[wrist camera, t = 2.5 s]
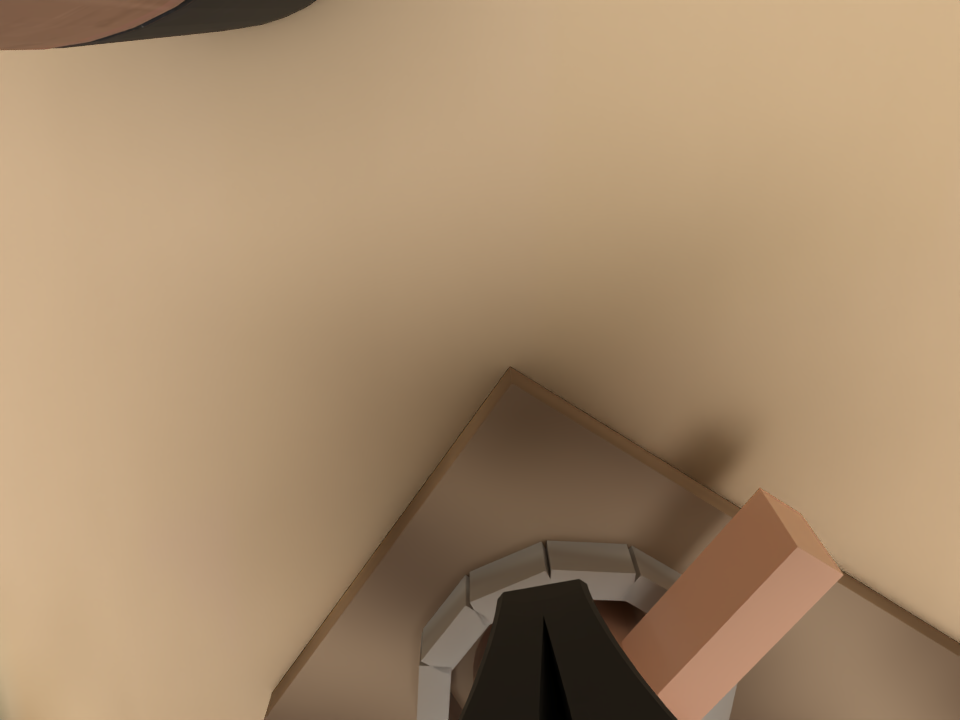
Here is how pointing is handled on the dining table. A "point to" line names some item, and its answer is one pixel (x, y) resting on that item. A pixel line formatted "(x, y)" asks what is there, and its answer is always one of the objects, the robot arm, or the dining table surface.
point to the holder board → (596, 561)
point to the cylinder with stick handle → (722, 607)
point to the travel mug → (128, 19)
